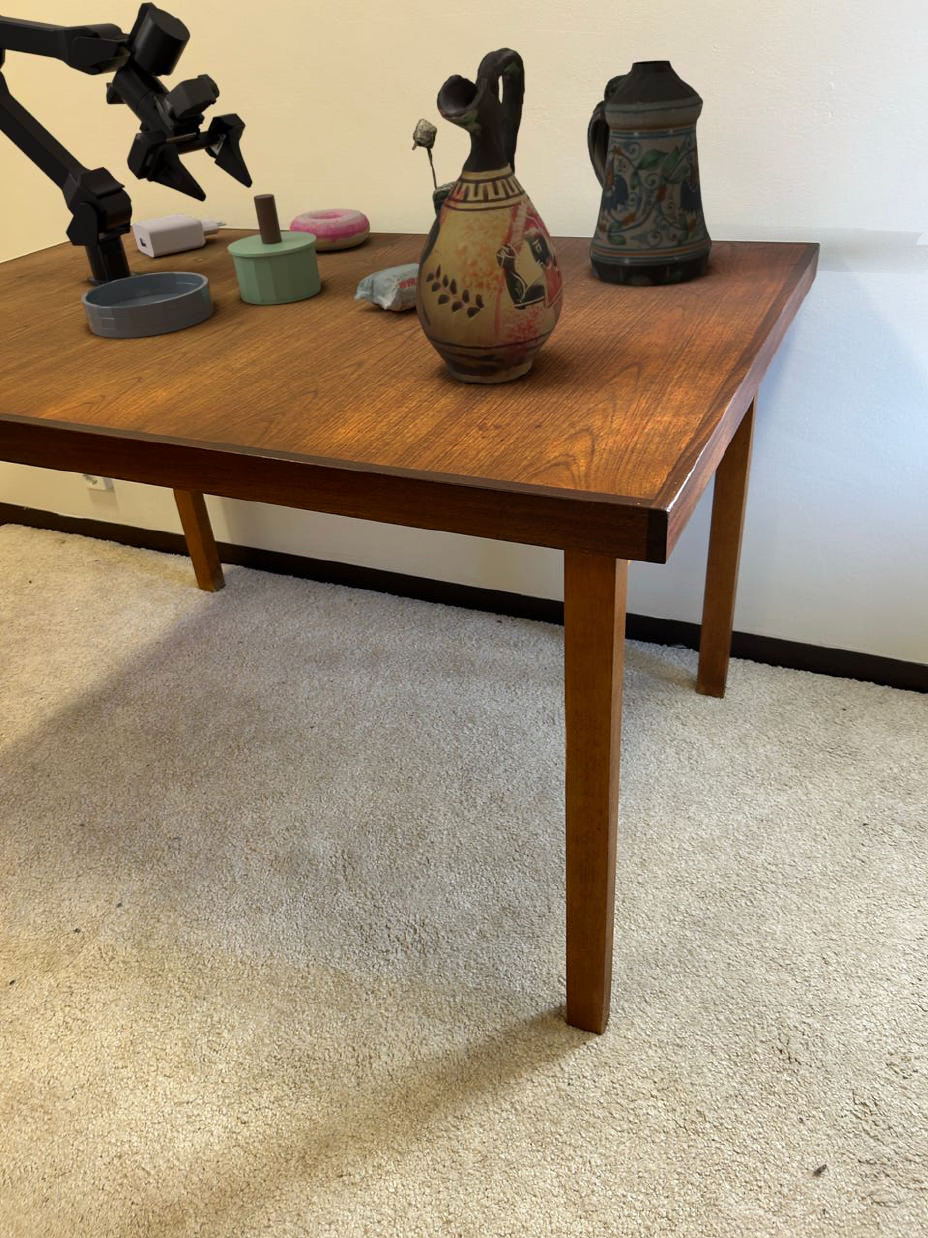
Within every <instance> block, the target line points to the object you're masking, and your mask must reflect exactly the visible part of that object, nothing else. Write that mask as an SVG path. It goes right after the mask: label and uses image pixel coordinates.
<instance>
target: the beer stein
mask: <svg viewBox="0 0 928 1238" xmlns="http://www.w3.org/2000/svg"><path fill="white" fill-rule="evenodd" d="M603 91H604V92H603V99H602V100H601V101H599V102H598V103H596V105H595V107H594V109H593V110H592V115H591V117H590V119H589V122H588V126H587V132H586V142H587V149H588V156H589V160H590V164H591V166H592V169H593V172H594V175H595V177H596V179H597V181H598V183H599V185H600V187H601V189H602V191H601V197H600V205H599V209H598V215H597V221H596V225H595V230H594V233H593V236H592V239H591V240H590V244H589V249H588V250H589V251H588V252H589V258H590V262H591V267H592V268H591V269H592V275H593V276H594V277H595V278H597V279H598V280H601V281H603V282H606V283H612V284H617V285H624V286H636V287H642V286H644V287H645V286H660V285H661V286H665V285H669V284H675V283H681V282H687V281H690V280H693V279H695V278H698V277H701V276H704V275H705V273H706V270H707V269H706V268H707V265H708V260H709V257H710V253H711V249H712V246H713V241H712V237H711V235H710V233H709V230H708V228H707V224H706V219H705V212H704V206H703V200H702V199H703V198H702V189H701V177H700V165H699V150H698V137H697V125H698V120H699V118H700V116H701V114H702V110H703V107H704V100H703V98H702V97H701V96H700V94H699V93H698V92H697V90H695V89H694V88H693V86H691V85H690V84H689V83H687V82H686V81H685V80H683V79H682V78H681V77H680V76H679V74H678V73H677V72H676V70H674V68H673V66H672V63H671V62H670V60H665V59H662V60H659V59H658V60H644V61H636V62H632V65H631V69H630V71H629V72H627V73H626V74H625V73H624V74H620V75H619V74H618V75H616V76H614V77H612V78H610V79H609V80H608V81H607V83H606V85H605V89H604V90H603Z"/></svg>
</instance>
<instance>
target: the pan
mask: <svg viewBox="0 0 928 1238" xmlns="http://www.w3.org/2000/svg"><path fill="white" fill-rule="evenodd" d="M80 300H81V303H82V308H83V310H84V313H85V317H86V321H87V322H88V327H89V329H90V331H91V333H93V334H94V335H97V336H100V337H104V338H110V339H111V338H112V339H133V338H135V339H136V338H145V337H152V336H153V337H154V336H159V335H164V334H169V333H172V332H176V331H179V330H183V329H187V328H189V327H192V326H195V325H197V324H199V323H202V322H203V321H206V320H207V319H209V318H210V317H211V316H212V315H213V314H214V312H215V306H214V302H213V295H212V291H211V286H210V281H209V279H208V278H207V276H206V275H203V274H201V273H196V272H190V271H162V272H161V271H160V272H151V273H145V274H138V276H132V277H127V278H123V279H119V280H115V281H112V282H108V283H105V284H102V285H100V286H97V285H96V286H95V287H93V288H91V289H88V291H85V292H84V293H83V294H82V296H81V297H80Z"/></svg>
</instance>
